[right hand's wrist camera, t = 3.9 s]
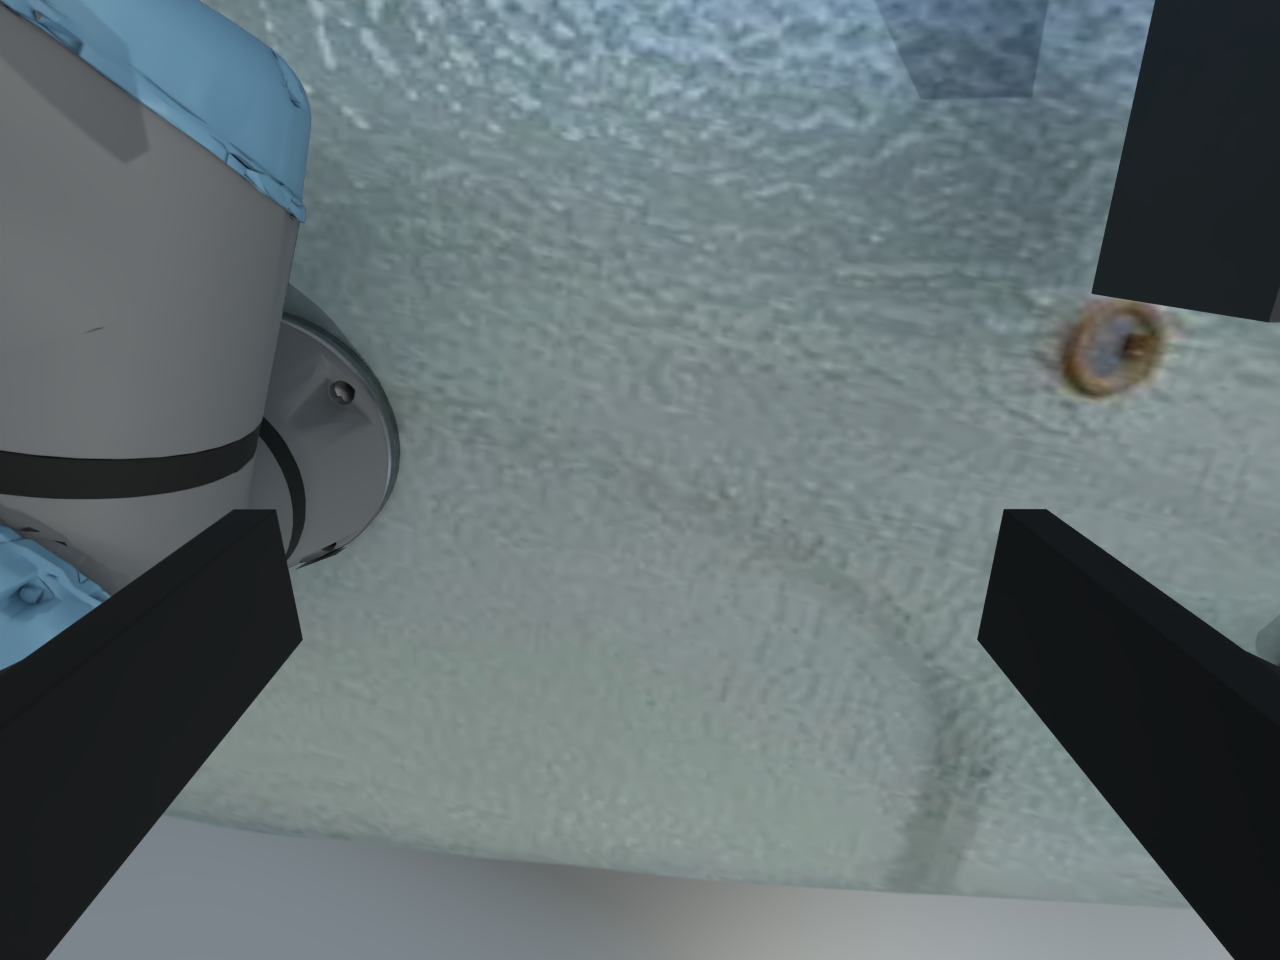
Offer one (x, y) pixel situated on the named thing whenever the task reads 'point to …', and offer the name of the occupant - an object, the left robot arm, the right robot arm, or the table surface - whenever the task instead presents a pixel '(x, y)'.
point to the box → (1201, 165)
